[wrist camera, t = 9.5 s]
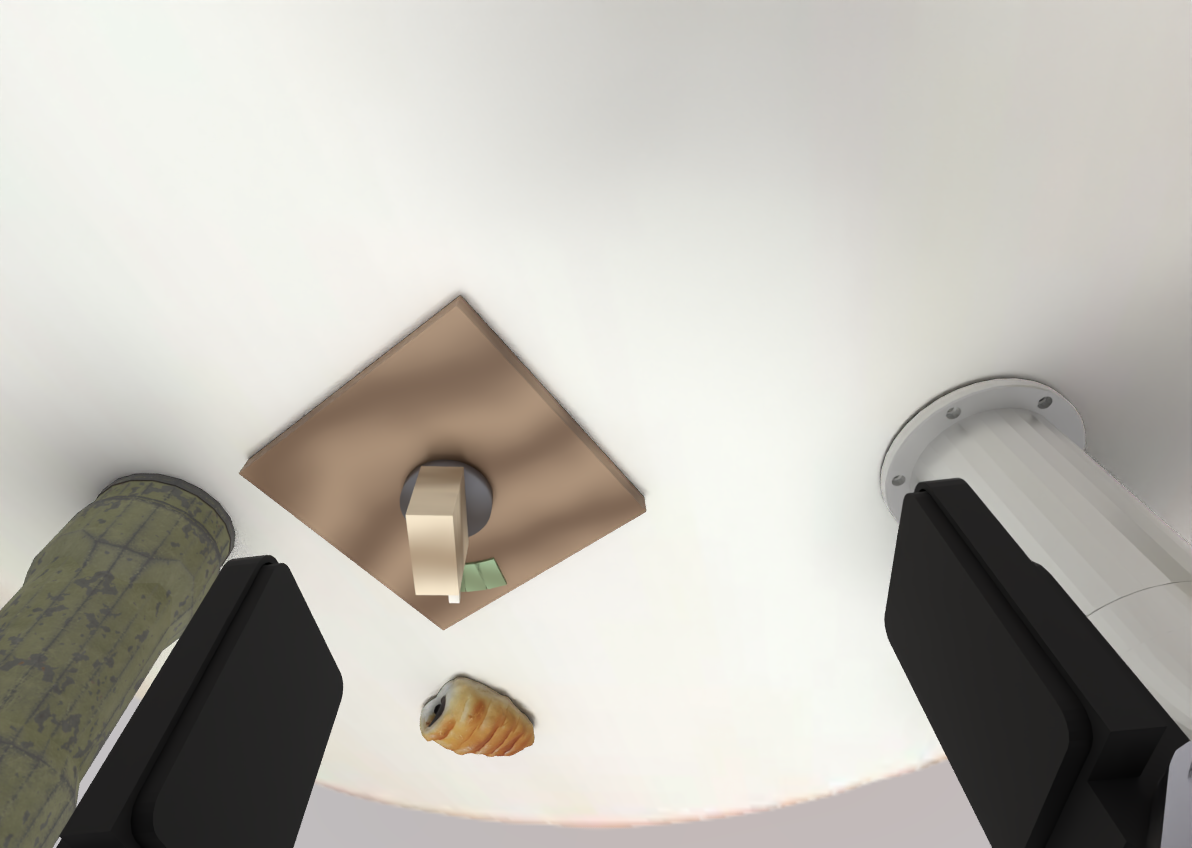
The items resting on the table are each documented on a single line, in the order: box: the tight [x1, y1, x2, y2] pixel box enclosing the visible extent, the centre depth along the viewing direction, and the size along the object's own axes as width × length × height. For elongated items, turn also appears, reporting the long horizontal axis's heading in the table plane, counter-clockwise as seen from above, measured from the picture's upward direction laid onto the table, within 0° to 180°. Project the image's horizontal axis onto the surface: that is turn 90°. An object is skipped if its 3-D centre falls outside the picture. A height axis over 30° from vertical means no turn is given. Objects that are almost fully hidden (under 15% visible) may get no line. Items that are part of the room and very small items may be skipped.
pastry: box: [420, 677, 534, 757], centre depth 56 cm, size 9×7×4 cm
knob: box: [400, 460, 493, 603], centre depth 42 cm, size 12×6×6 cm, turn 177°
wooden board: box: [239, 295, 646, 630], centre depth 43 cm, size 18×18×2 cm
